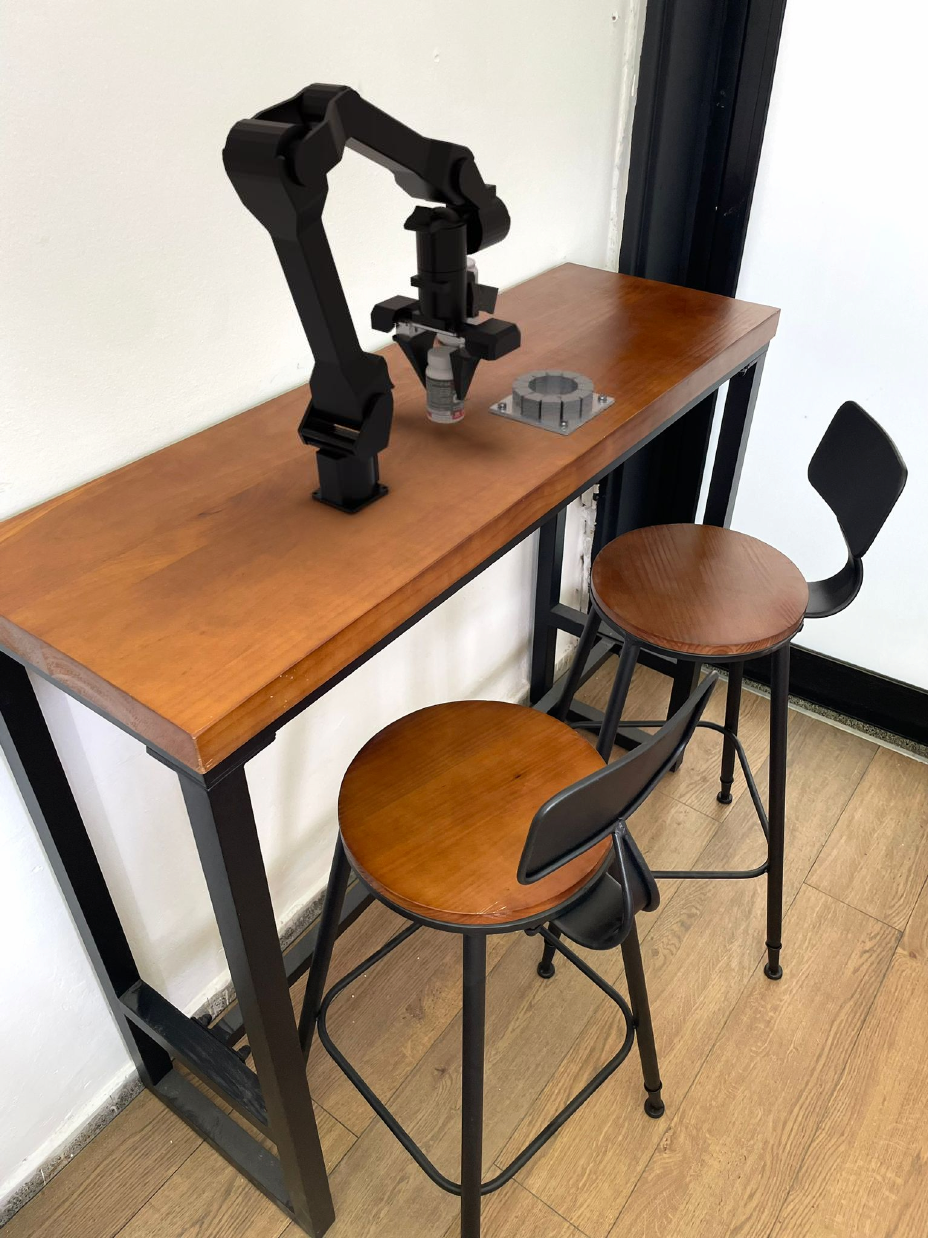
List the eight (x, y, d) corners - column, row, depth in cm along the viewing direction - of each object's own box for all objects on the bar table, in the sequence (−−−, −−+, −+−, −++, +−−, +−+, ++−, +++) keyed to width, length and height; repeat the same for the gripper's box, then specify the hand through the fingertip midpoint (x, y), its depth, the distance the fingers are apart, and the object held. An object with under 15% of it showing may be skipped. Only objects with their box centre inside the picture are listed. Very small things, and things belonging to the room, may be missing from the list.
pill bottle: (460, 425, 114) (459, 360, 109) (423, 422, 115) (420, 357, 110) (468, 409, 118) (467, 345, 113) (432, 406, 118) (430, 343, 113)
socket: (566, 435, 116) (567, 412, 114) (489, 411, 122) (489, 389, 120) (614, 402, 124) (616, 380, 122) (539, 381, 130) (540, 360, 128)
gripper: (549, 261, 106) (544, 390, 115) (423, 236, 115) (427, 357, 124) (492, 287, 99) (492, 422, 108) (362, 258, 108) (372, 385, 117)
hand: (445, 394), depth 114 cm, fingers closed on pill bottle, 5 cm apart
